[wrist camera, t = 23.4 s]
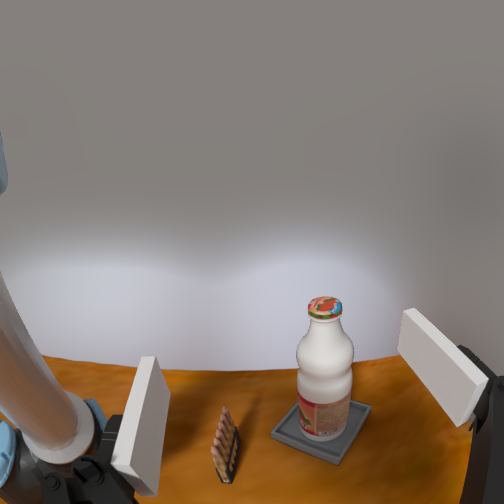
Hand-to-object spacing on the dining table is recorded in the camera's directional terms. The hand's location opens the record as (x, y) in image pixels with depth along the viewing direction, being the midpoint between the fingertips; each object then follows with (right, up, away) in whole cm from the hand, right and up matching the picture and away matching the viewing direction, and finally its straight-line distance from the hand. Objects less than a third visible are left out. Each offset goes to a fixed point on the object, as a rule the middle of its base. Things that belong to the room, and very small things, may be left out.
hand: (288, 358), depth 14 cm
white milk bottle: (+12, -28, +36) cm, 47 cm away
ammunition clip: (-5, -33, +31) cm, 46 cm away
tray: (+12, -29, +36) cm, 47 cm away
